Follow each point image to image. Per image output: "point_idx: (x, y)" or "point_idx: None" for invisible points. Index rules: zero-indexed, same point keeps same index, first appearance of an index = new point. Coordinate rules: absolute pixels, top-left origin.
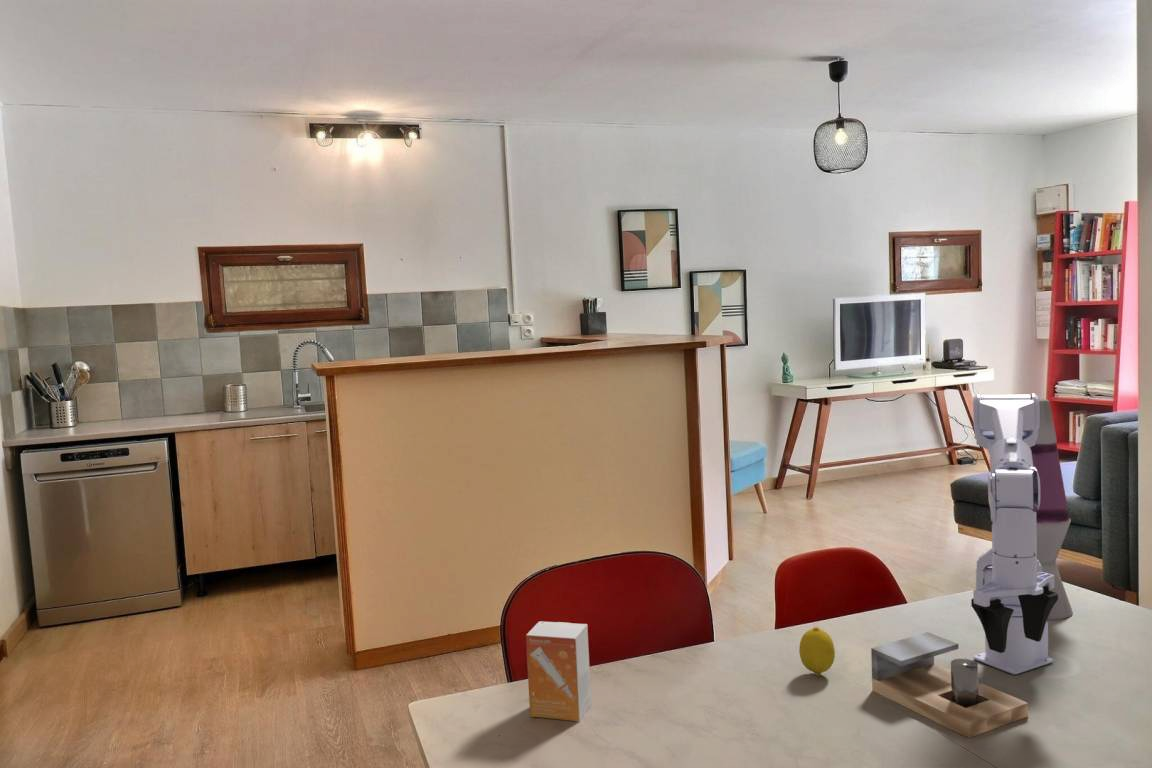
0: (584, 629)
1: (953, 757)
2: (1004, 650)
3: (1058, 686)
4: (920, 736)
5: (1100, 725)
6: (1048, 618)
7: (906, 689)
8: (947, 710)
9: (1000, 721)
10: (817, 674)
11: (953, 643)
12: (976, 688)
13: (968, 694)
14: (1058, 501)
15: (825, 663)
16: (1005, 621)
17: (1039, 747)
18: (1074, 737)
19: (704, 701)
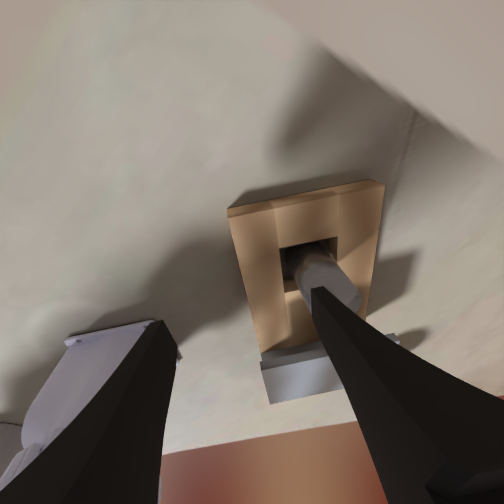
0: None
1: (447, 131)
2: (315, 291)
3: (104, 278)
4: (418, 209)
5: (116, 128)
6: (2, 425)
7: None
8: (368, 238)
9: (298, 197)
10: None
11: (267, 372)
12: (314, 260)
13: (327, 255)
14: None
15: None
16: (418, 378)
17: (298, 97)
18: (204, 104)
19: (501, 339)
